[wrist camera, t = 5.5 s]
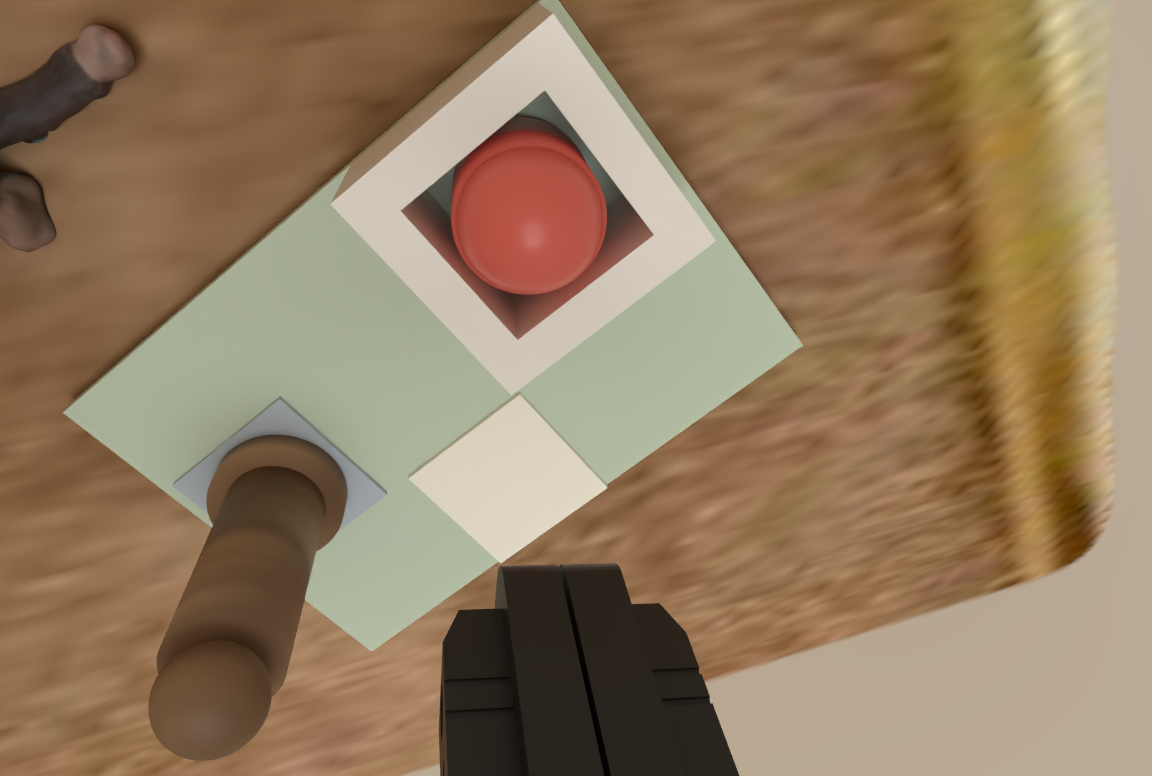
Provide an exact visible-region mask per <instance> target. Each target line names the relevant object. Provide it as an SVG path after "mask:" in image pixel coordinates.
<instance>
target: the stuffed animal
mask: <svg viewBox="0 0 1152 776" xmlns="http://www.w3.org/2000/svg"><path fill="white" fill-rule="evenodd" d="M134 63H135V58H134V55H133V52H132V50H131V48H130V47H129V46H128V44H127V43H126V41H125V40H124V39H123V38H122V37H121V36H120V35H119V34H118V33H117V32H115V31H113V30H111V29H109V28H106V27H104V26H101V25H97V24H91V25H87V26H86V27H84V28H83V29H82V30H81V32H80V35H79V38H78V40H77V41H75V42H72V43H69V44H66V45H64V46H62V47H61V48H59V49H58V50H57V51H55V52H54V53H53V54H52V56H51V58H50V59H49V60H48V61H47V63H46V64H44V65H43V66H42V67H41V68H40V69H39V70H37V71H36V72H35V73H33V74H32V75H31V76H29V77H28V78H26V79H24V80H21V81H19V82H16V83H13V84H11V85H8V86H6V87H3V88H0V149H1V148H4V147H7V146H10V145H13V144H16V143H19V142H22V141H23V142H26V143H40V142H43V141H45V139H47V137H48V131H53V130H56V129H57V128H58V127H59V125H60V124H61V123H62V122H63V121H65V120H66V119H68V118H69V117H71V116H73V115H74V114H76V113H78V112H79V111H81V110H82V109H83V108H84V107H85V106H87V105H88V104H89V103H90V102H91V101H93V100H95V99H98V98H102V97H104V96H106V95H107V94H108V92H109V90H110V86H111V83H112V81H113V80H116V79H120V78H123V77H126V76H127V75H128V74H129V73H130V71H131V69H132V68H133V66H134ZM0 236H1V237H2V239H3V240H4V241H5V242H6V243H7V244H8V245H9V246H11V247H12V248H14V249H17V250H21V251H25V252H31V251H34V250H36V249H38V248H40V247H43V246H45V245H47V244H49V243H50V242H52V241H53V240H54V238H55V237H56V229H55V226H54V224H53V222H52V220H51V217H50V215H49V213H48V211H47V208H46V206H45V203H44V197H43V191H42V188H41V186H40V185H39V184H38V182H37V181H36V180H34V178H33V177H32V176H31V175H30V174H27V173H23V172H21V173H12V172H7V171H0Z"/></svg>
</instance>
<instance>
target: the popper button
mask: <svg viewBox="0 0 1152 776" xmlns="http://www.w3.org/2000/svg"><path fill="white" fill-rule="evenodd" d="M451 225H452V233H453V237H454V241H455V244H456V246H457V249H458V251H459V253H460V255H461V257H462V258H463V260H464V262H465V263H466V264H467V265H468V267H469V268H470V269H471V270H472V271H473V272H474V273H475V274H476V275H477V276H478V277H479V278H481V279H482V280H483V281H485V282H486V283H488V284H490V285H491V286H493V287H495V288H498V289H500V290H503V291H506V292H510V293H514V294H521V295H534V294H543V293H547V292H551V291H554V290H557V289H559V288H562V287H564V286H565V285H567V284H569V283H571V282H572V281H574V280H575V279H577V278H578V277H579V276H580V275H581V274H582V273H584V272H585V270H586V269H587V268H588V267H589V266H590V265H591V263H592V262H593V261H594V259H595V258H596V256H597V254H598V252H599V250H600V248H601V246H602V243H603V240H604V237H605V232H606V225H607V209H606V204H605V199H604V195H603V192H602V189H601V187H600V185H599V183H598V181H597V179H596V178H595V176H594V174H593V173H592V171H591V169H590V168H589V166H588V164H587V163H586V161H585V159H584V158H583V156H582V154H581V153H580V151H579V149H578V148H577V146H576V145H575V143H574V142H573V141H572V140H571V139H570V138H569V137H568V136H567V135H566V134H565V133H564V132H563V131H561V130H560V129H558V128H557V127H555V126H553V125H551V124H549V123H547V122H545V121H541V120H538V119H534V118H528V117H515V118H511V119H510V120H509V121H507V122H506V123H505V124H504V125H503V126H501V127H500V128H499V129H498V130H497V131H495V132H494V133H493V134H492V135H491V136H489V137H488V138H487V139H486V140H485V141H483V142H482V143H481V144H480V145H479V146H477V147H476V148H475V149H474V150H473V151H471V152H470V153H469V154H468V155H467V156H465V157H464V158H463V159H462V160H461V161H459V162H458V163H457V164H456V166H455V169H454V174H453V185H452V209H451Z"/></svg>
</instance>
